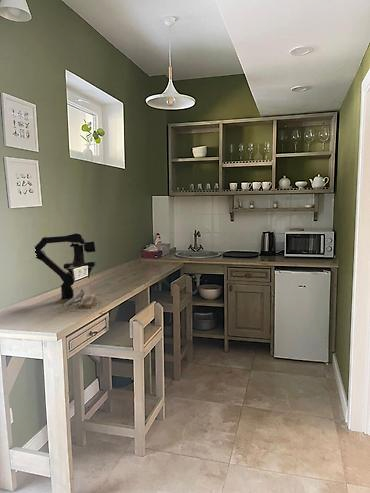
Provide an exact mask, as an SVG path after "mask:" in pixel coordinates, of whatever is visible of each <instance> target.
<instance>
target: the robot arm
mask: <svg viewBox="0 0 370 493" xmlns="http://www.w3.org/2000/svg"><path fill="white" fill-rule="evenodd" d="M66 242H67V243H71V244H70V245H69V247H70V248H73V260H72V262H65V263H63V269H62V268H61V267H60V266H59V265H58V264H57V263H56V262H55V261H54V260H53V259H51V258H50V257H49V256H48V255H47V254H46V252H45V251H44V250H43V249H44V248H45V247H46V245H47V244H55V243H66ZM95 243H96V241H95V240H93V241H86V240H85V239H84V237H83V235H82V233H80V232H75V233H71V234H66V235H58V236H44V237H42V238H41V239H40V241H39V242H38V243H37V244H36V245H34V247H35V249H36V251H35V253H36V254H37V255H36V256H37V257H36V258H35V259H37V260H39V261H42V262H43V263H44V265H46V266H47V267H48V268H49V269H51V270H52V271H53V272H54V273H55V274H57V276H59V278H60V279H61V280H62V282H63V283H61V285H60V290H61V293H60V294H61V300H64V299H65V300H66V299H72V298H73V297H75V293H74V292H75V291H74V288H73V285H74V284H75V282H76V277H75V272H74V270H75V268H81V267H87V276H88V279H90V277H91V272H92V269H94V268H95V267H96V266H97V262H96V261H95V260H91V261H90V260H89V261H87V262H86V261H85V253H84V252H86V254H87V253H96V252H97V248H96V244H95ZM43 247H44V248H43ZM42 248H43V249H42ZM41 249H42V250H43V251H42V250H41ZM64 269H65V270H66V271H65V270H64Z"/></svg>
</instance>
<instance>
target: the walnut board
mask: <svg viewBox="0 0 370 493" xmlns="http://www.w3.org/2000/svg"><path fill="white" fill-rule="evenodd" d="M95 299H96V294H84V296H83V298H82V299H81V300H80V302H79V304H78V309H92V307H93V304H94V302H95Z"/></svg>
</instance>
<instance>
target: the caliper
mask: <svg viewBox="0 0 370 493" xmlns="http://www.w3.org/2000/svg"><path fill="white" fill-rule="evenodd" d="M84 295H85V290H84V289H83V288H81V289H80V290H79V292H78V293H76V294H75V295H74V296H73V298H70V299H69V300H68V301H66V302H65V303H64V305H63V307H64V308H65V307H67V306H69V305H70V304H71V303H73V302H74V301H76V300H77V299H78V300H79V299H81V300H82V298H83V296H84Z"/></svg>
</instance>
